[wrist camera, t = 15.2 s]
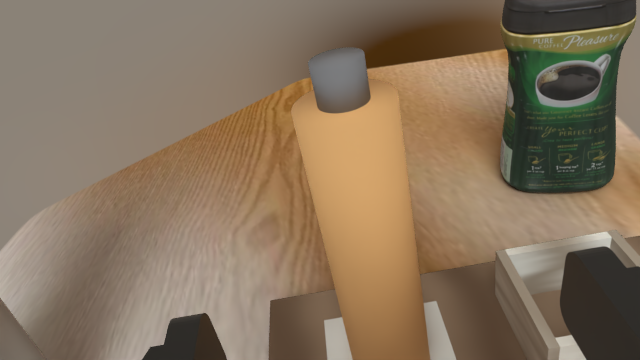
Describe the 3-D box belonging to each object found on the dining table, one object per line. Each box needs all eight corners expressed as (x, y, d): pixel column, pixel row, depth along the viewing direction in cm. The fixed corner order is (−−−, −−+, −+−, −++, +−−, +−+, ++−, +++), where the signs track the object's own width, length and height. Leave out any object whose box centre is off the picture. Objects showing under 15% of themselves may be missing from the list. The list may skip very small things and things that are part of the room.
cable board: (270, 509, 27) (244, 456, 24) (275, 313, 39) (257, 262, 36) (798, 427, 26) (838, 361, 23) (637, 250, 38) (650, 191, 35)
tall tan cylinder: (340, 352, 33) (263, 64, 22) (400, 317, 34) (354, 31, 24) (381, 408, 29) (311, 92, 19) (446, 366, 31) (416, 50, 20)
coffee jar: (599, 149, 49) (627, -53, 39) (620, 196, 43) (661, -30, 33) (495, 153, 52) (497, -35, 42) (501, 198, 46) (505, -10, 36)
